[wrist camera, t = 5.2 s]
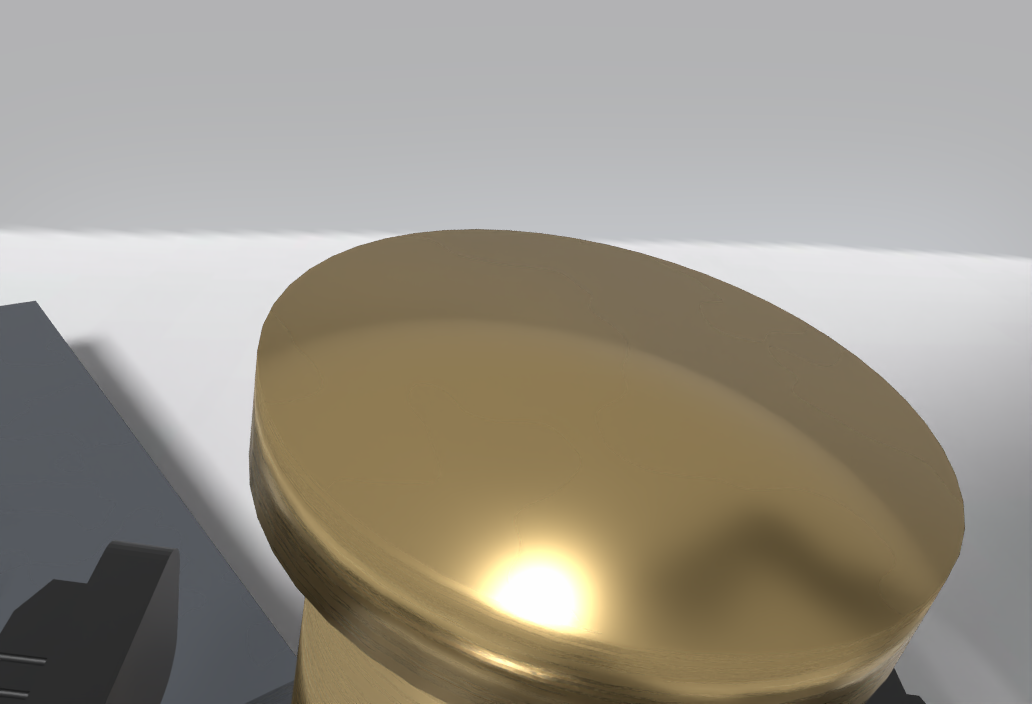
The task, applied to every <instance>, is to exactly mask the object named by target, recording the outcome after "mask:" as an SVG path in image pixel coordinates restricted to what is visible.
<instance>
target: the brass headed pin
mask: <svg viewBox="0 0 1032 704" xmlns="http://www.w3.org/2000/svg"><path fill="white" fill-rule="evenodd" d="M249 473H250V488H251V492H252V497H253V501H254V505H255V509H256V513H257V518H258V520H259V522H260V524H261V527H262V529H263V531H264V533H265V536H266V538H267V540H268V542H269V544H270V547H271V549H272V551H273V553H274V554H275V556H276V557H277V559H278V560H279V562H280V563H281V565H282V566H283V568H284V569H285V571H286V572H287V574H288V575H289V577H290V578H291V580H292V581H293V583H294V584H295V586H296V587H297V588H298V590H299V591H300V592H301V593H302V594H303V595H304V596H305V601H304V609H303V617H302V624H301V632H300V639H299V647H298V655H297V662H296V670H295V678H294V685H293V693H292V701H291V704H864V703H866V702H867V700H868V699H869V698H870V697H871V696H872V695H873V694H874V693H875V691H876V690H877V689H878V688H879V687H880V686H881V685H882V684H883V682H884V681H885V680H886V679H887V678H888V676H889V675H890V673H891V671H892V670H893V668H894V666H895V665H896V663H897V661H898V660H899V658H900V656H901V655H902V653H903V651H904V650H905V648H906V646H907V645H908V643H909V641H910V640H911V638H912V636H913V635H914V633H915V631H916V630H917V628H918V626H919V625H920V623H921V621H922V620H923V618H924V616H925V615H926V613H927V611H928V610H929V608H930V606H931V605H932V603H933V601H934V600H935V598H936V596H937V595H938V593H939V591H940V590H941V588H942V586H943V585H944V583H945V581H946V580H947V578H948V576H949V574H950V572H951V570H952V568H953V566H954V564H955V562H956V561H957V559H958V557H959V555H960V550H961V545H962V540H963V535H964V530H965V522H964V505H963V499H962V495H961V492H960V488H959V485H958V481H957V478H956V475H955V472H954V470H953V468H952V466H951V464H950V462H949V460H948V458H947V456H946V454H945V452H944V450H943V448H942V447H941V445H940V444H939V442H938V441H937V439H936V438H935V436H934V435H933V433H932V432H931V430H930V429H929V427H928V426H927V424H926V423H925V422H924V421H923V420H922V418H921V417H920V416H919V415H918V414H917V413H916V411H915V410H914V409H913V408H912V407H911V406H910V404H909V403H908V402H907V401H906V400H905V399H904V398H903V397H902V396H901V395H900V394H899V393H898V392H897V391H896V390H895V389H894V388H893V387H892V386H891V385H890V384H889V383H888V382H887V381H886V380H884V379H883V378H882V377H881V376H880V375H879V374H878V373H876V372H875V371H874V370H873V369H871V368H870V367H869V366H868V365H867V364H865V363H864V362H863V361H862V360H860V359H859V358H858V357H857V356H855V355H854V354H853V353H851V352H850V351H848V350H847V349H846V348H844V347H843V346H841V345H840V344H838V343H837V342H836V341H834V340H833V339H831V338H830V337H829V336H827V335H825V334H824V333H822V332H820V331H819V330H817V329H816V328H814V327H812V326H811V325H809V324H807V323H806V322H804V321H802V320H801V319H799V318H797V317H796V316H794V315H792V314H790V313H788V312H786V311H784V310H783V309H781V308H779V307H777V306H775V305H773V304H771V303H770V302H767V301H765V300H763V299H761V298H759V297H757V296H755V295H753V294H751V293H748V292H746V291H744V290H742V289H740V288H738V287H735V286H733V285H730V284H728V283H726V282H723V281H721V280H718V279H716V278H713V277H711V276H709V275H706V274H703V273H701V272H698V271H695V270H692V269H689V268H686V267H684V266H681V265H678V264H675V263H672V262H669V261H666V260H662V259H659V258H656V257H652V256H649V255H646V254H642V253H639V252H635V251H631V250H627V249H623V248H619V247H615V246H611V245H607V244H601V243H596V242H591V241H586V240H581V239H576V238H570V237H563V236H556V235H549V234H542V233H532V232H521V231H510V230H484V229H469V230H442V231H433V232H422V233H413V234H407V235H402V236H396V237H391V238H385V239H382V240H378V241H374V242H371V243H367V244H364V245H360V246H357V247H354V248H352V249H349V250H347V251H344V252H342V253H339V254H337V255H334V256H332V257H330V258H328V259H327V260H325V261H323V262H321V263H320V264H318V265H316V266H314V267H312V268H311V269H309V270H308V271H307V272H305V273H304V274H303V275H302V276H300V277H299V278H298V279H297V280H295V281H294V282H293V283H291V284H290V285H289V286H288V288H287V289H286V290H285V291H284V292H283V293H282V295H281V296H280V297H279V298H278V299H277V301H276V302H275V303H274V304H273V306H272V308H271V310H270V312H269V314H268V316H267V318H266V320H265V322H264V324H263V327H262V332H261V336H260V341H259V345H258V350H257V362H256V374H255V387H254V399H253V412H252V424H251V437H250V449H249Z"/></svg>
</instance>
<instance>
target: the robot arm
mask: <svg viewBox="0 0 1032 704" xmlns="http://www.w3.org/2000/svg"><path fill="white" fill-rule="evenodd" d="M179 574H180V553H179V550H178V549H176V548H168V547H161V546H154V545H147V544H139V543H132V542H125V541H118V540H113V541H111V542H110V543H109V545H108V546H107V547H106V549H105V551H104V552H103V554H102V556H101V558H100V560H99V562H98V564H97V566H96V567H95V569H94V571H93V573H92V575H91V577H90V579H89V581H88V583H79V582H72V581H64V580H57V579H53V580H52V581H51V582H49V583H48V584H47V585H46V586H44V587H43V588H42V589H41V590H39V591H38V592H37V593H36V594H34V595H33V596H32V597H30V598H29V599H28V600H27V601H25V602H24V603H23V604H22V605H20V606H19V607H18V608H17V609H15V610H14V611H13V613H12V615H11V616H10V618H9V620H8V621H7V623H6V625H5V626H4V628H3V630H2V631H1V633H0V704H161V701H162V698H163V696H164V693H165V690H166V687H167V684H168V681H169V677H170V673H171V669H172V665H173V661H174V656H175V650H176V643H177V629H178V601H179ZM864 704H926V703H925V702H924V701H923V700H922V699H921V698H920V697H919V696H916V695H908V694H906V692H905V690H904V688H903V686H902V684H901V682H900V680H899V677H898V675H897V673H896V671H895V669H894V668H893V670H892V671H891V673H890V675H889V676H888V678H887V679H886V680H885V681H884V682H883V684H882V685H881V686H880V687H879V688H878V689H877V690H876V691H875V693H874V694H873V695H872V696H871V697H870V698H869V699H868V700H867V702H866V703H864Z"/></svg>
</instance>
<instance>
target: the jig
mask: <svg viewBox="0 0 1032 704" xmlns="http://www.w3.org/2000/svg"><path fill="white" fill-rule="evenodd" d="M113 540H118V541H125V542H132V543H139V544H147V545H154V546H161V547H168V548H176V549H178V550H179V553H180V574H179V601H178V629H177V643H176V650H175V656H174V661H173V665H172V669H171V673H170V677H169V681H168V684H167V687H166V690H165V693H164V696H163V698H162V701H161V704H291V701H292V693H293V685H294V678H295V670H296V662H297V657H296V656H295V655H294V653H293V652H292V651H291V649H290V648H289V646H288V645H287V644H286V642H285V641H284V640H283V638H282V637H281V636H280V634H279V633H278V631H277V630H276V629H275V627H274V626H273V625H272V623H271V622H270V620H269V619H268V618H267V616H266V615H265V614H264V612H263V611H262V610H261V608H260V607H259V605H258V604H257V603H256V601H255V600H254V599H253V597H252V596H251V595H250V593H249V592H248V590H247V589H246V588H245V586H244V585H243V584H242V582H241V581H240V579H239V578H238V577H237V575H236V574H235V573H234V571H233V570H232V569H231V567H230V566H229V564H228V563H227V562H226V560H225V559H224V558H223V556H222V555H221V554H220V552H219V551H218V549H217V548H216V547H215V545H214V544H213V543H212V541H211V540H210V538H209V537H208V536H207V534H206V533H205V532H204V530H203V529H202V528H201V526H200V525H199V523H198V522H197V521H196V519H195V518H194V517H193V515H192V514H191V513H190V511H189V510H188V508H187V507H186V506H185V504H184V503H183V502H182V500H181V499H180V497H179V496H178V495H177V493H176V492H175V491H174V489H173V488H172V487H171V485H170V484H169V482H168V481H167V480H166V478H165V477H164V476H163V474H162V473H161V472H160V470H159V469H158V467H157V466H156V465H155V463H154V462H153V461H152V459H151V458H150V456H149V455H148V454H147V452H146V451H145V450H144V448H143V447H142V446H141V444H140V443H139V441H138V440H137V439H136V437H135V436H134V435H133V433H132V432H131V431H130V429H129V428H128V426H127V425H126V424H125V422H124V421H123V420H122V418H121V417H120V415H119V414H118V413H117V411H116V410H115V409H114V407H113V406H112V405H111V403H110V402H109V400H108V399H107V398H106V396H105V395H104V394H103V392H102V391H101V390H100V388H99V387H98V385H97V384H96V383H95V381H94V380H93V379H92V377H91V376H90V374H89V373H88V372H87V370H86V369H85V368H84V366H83V365H82V364H81V362H80V361H79V359H78V358H77V357H76V355H75V354H74V353H73V351H72V350H71V349H70V347H69V346H68V344H67V343H66V342H65V340H64V339H63V338H62V336H61V335H60V333H59V332H58V331H57V329H56V328H55V327H54V325H53V324H52V323H51V321H50V320H49V318H48V317H47V316H46V314H45V313H44V312H43V310H42V309H41V308H40V306H39V305H38V303H37V302H36V301H31V302H25V303H18V304H11V305H4V306H0V633H1V631H2V630H3V628H4V626H5V625H6V623H7V621H8V620H9V618H10V616H11V615H12V613H13V611H14V610H15V609H17V608H18V607H19V606H20V605H22V604H23V603H24V602H25V601H27V600H28V599H29V598H30V597H32V596H33V595H34V594H36V593H37V592H38V591H39V590H41V589H42V588H43V587H44V586H46V585H47V584H48V583H49V582H51V581H52V580H53V579H57V580H64V581H72V582H79V583H88V581H89V579H90V577H91V575H92V573H93V571H94V569H95V567H96V566H97V564H98V562H99V560H100V558H101V556H102V554H103V552H104V551H105V549H106V547H107V546H108V545H109V543H110V542H111V541H113Z"/></svg>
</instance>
